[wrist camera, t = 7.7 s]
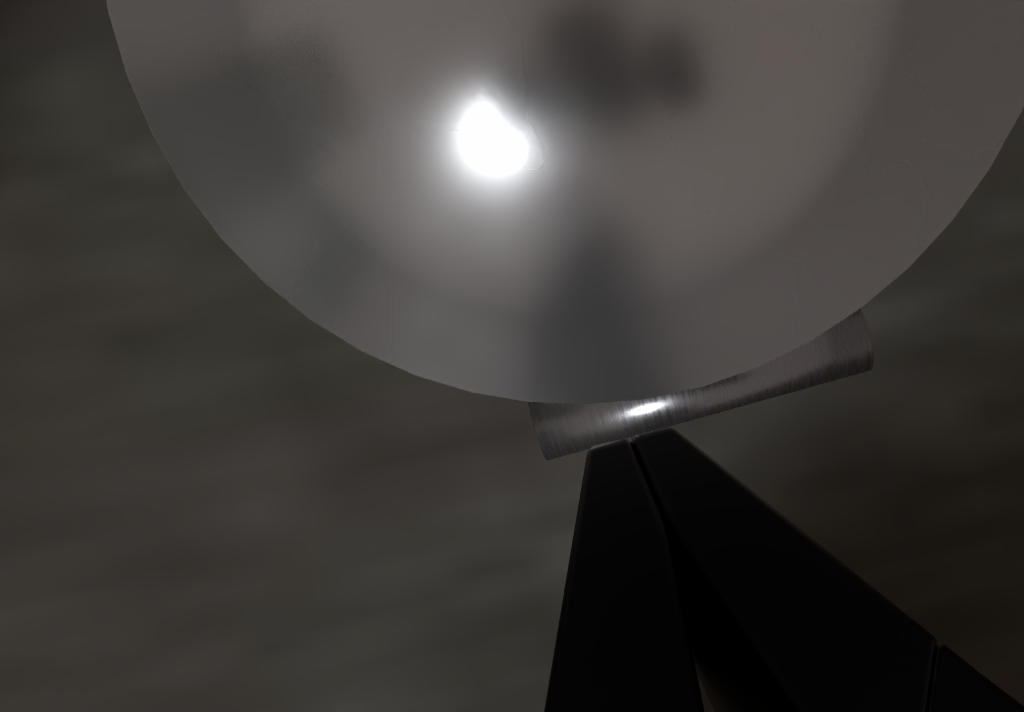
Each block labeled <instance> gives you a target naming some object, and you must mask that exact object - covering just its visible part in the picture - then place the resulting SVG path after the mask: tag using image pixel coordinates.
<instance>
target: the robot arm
mask: <svg viewBox="0 0 1024 712" xmlns="http://www.w3.org/2000/svg"><path fill="white" fill-rule="evenodd" d="M936 646H937V640H936V638H935V637H934V636H933V635H931V634H930V633H929V632H928V631H926V630H925V629H924V628H923V627H921V626H920V625H919V624H918V623H916V622H915V621H914V620H913V619H911V618H910V617H909V616H908V615H906V614H905V613H904V612H903V611H901V610H900V609H899V608H898V607H896V606H895V605H894V604H893V603H891V602H890V601H889V600H888V599H886V598H885V597H884V596H883V595H881V594H880V593H879V592H878V591H876V590H875V589H874V588H873V587H871V586H870V585H869V584H868V583H866V582H865V581H864V580H863V579H861V578H860V577H859V576H858V575H856V574H855V573H854V572H853V571H851V570H850V569H849V568H848V567H846V566H845V565H844V564H843V563H841V562H840V561H839V560H838V559H836V558H835V557H834V556H833V555H831V554H830V553H829V552H828V551H826V550H825V549H824V548H823V547H821V546H820V545H819V544H818V543H816V542H815V541H814V540H813V539H811V538H810V537H809V536H808V535H806V534H805V533H804V532H803V531H801V530H800V529H799V528H798V527H796V526H795V525H794V524H793V523H791V522H790V521H789V520H788V519H786V518H785V517H784V516H783V515H781V514H780V513H779V512H778V511H776V510H775V509H774V508H773V507H771V506H770V505H769V504H768V503H766V502H765V501H764V500H763V499H761V498H760V497H759V496H758V495H756V494H755V493H754V492H753V491H751V490H750V489H749V488H748V487H746V486H745V485H744V484H743V483H741V482H740V481H739V480H738V479H736V478H735V477H734V476H733V475H731V474H730V473H729V472H728V471H726V470H725V469H724V468H723V467H722V466H720V465H719V464H718V463H717V462H715V461H714V460H713V459H712V458H710V457H709V456H708V455H707V454H705V453H704V452H703V451H702V450H700V449H699V448H698V447H697V446H695V445H694V444H693V443H692V442H690V441H689V440H688V439H687V438H685V437H684V436H683V435H682V434H680V433H679V432H678V431H676V430H675V429H673V428H670V427H664V428H660V429H656V430H653V431H649V432H645V433H641V434H637V435H635V436H634V437H633V438H632V441H631V442H630V441H629V440H628V439H625V438H622V439H618V440H614V441H610V442H606V443H602V444H599V445H595V446H592V447H591V448H590V449H589V451H588V453H587V457H586V463H585V470H584V476H583V482H582V488H581V494H580V500H579V506H578V512H577V518H576V524H575V530H574V536H573V542H572V548H571V554H570V560H569V566H568V572H567V578H566V584H565V590H564V596H563V602H562V608H561V614H560V620H559V626H558V632H557V638H556V644H555V650H554V656H553V662H552V668H551V674H550V680H549V686H548V692H547V698H546V704H545V710H544V712H704V708H703V703H702V698H701V693H700V688H699V683H698V678H697V673H698V675H699V677H700V680H701V682H702V684H703V686H704V688H705V691H706V693H707V695H708V697H709V699H710V701H711V704H712V706H713V708H714V710H715V712H1024V706H1023V705H1021V704H1020V703H1019V702H1017V701H1016V700H1015V699H1013V698H1012V697H1011V696H1009V695H1008V694H1007V693H1005V692H1004V691H1003V690H1001V689H1000V688H999V687H998V686H996V685H995V684H994V683H992V682H991V681H990V680H988V679H987V678H986V677H984V676H983V675H982V674H980V673H979V672H978V671H977V670H975V669H974V668H973V667H972V666H970V665H969V664H968V663H967V662H966V661H964V660H963V659H962V658H961V657H959V656H958V655H957V654H956V653H954V652H953V651H952V650H951V649H949V648H948V647H947V646H946V645H944V644H940V645H938V646H937V648H936ZM696 670H697V673H696Z"/></svg>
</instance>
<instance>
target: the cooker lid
mask: <svg viewBox="0 0 1024 712" xmlns="http://www.w3.org/2000/svg"><path fill="white" fill-rule="evenodd" d="M106 1H107V7H108V13H109V16H110V20H111V23H112V27H113V30H114V33H115V37H116V40H117V44H118V47H119V51H120V54H121V57H122V61H123V64H124V68H125V71H126V75H127V77H128V79H129V82H130V84H131V86H132V89H133V91H134V93H135V96H136V98H137V100H138V103H139V105H140V107H141V110H142V112H143V114H144V117H145V119H146V121H147V124H148V126H149V128H150V131H151V133H152V135H153V137H154V139H155V140H156V142H157V144H158V145H159V147H160V149H161V151H162V152H163V154H164V156H165V158H166V159H167V161H168V163H169V164H170V166H171V168H172V170H173V171H174V173H175V175H176V176H177V178H178V180H179V182H180V183H181V185H182V187H183V189H184V190H185V191H186V193H187V194H188V195H189V197H190V198H191V199H192V201H193V202H194V203H195V204H196V206H197V207H198V208H199V210H200V211H201V212H202V214H203V215H204V216H205V218H206V219H207V220H208V222H209V223H210V224H211V226H212V227H213V228H214V230H215V231H216V232H217V234H218V235H219V236H220V238H221V239H222V240H223V241H224V242H225V243H226V244H227V245H228V246H229V247H230V248H231V249H232V250H233V251H234V252H235V253H236V254H237V255H238V256H239V257H240V258H241V259H242V260H243V261H244V262H245V263H246V264H247V265H248V267H249V268H250V269H251V270H252V271H253V272H254V273H255V274H256V275H257V276H258V277H259V278H260V279H261V280H262V281H263V282H264V283H265V284H267V285H268V286H269V287H270V288H272V289H273V290H274V291H275V292H277V293H278V294H279V295H280V296H282V297H283V298H284V299H285V300H287V301H288V302H289V303H290V304H292V305H293V306H294V307H295V308H297V309H298V310H299V311H300V312H302V313H303V314H304V315H305V316H307V317H308V318H309V319H310V320H312V321H313V322H315V323H317V324H318V325H320V326H322V327H323V328H325V329H326V330H328V331H330V332H331V333H333V334H335V335H336V336H338V337H340V338H341V339H343V340H344V341H346V342H348V343H349V344H351V345H353V346H354V347H356V348H358V349H359V350H361V351H363V352H365V353H367V354H369V355H372V356H374V357H376V358H378V359H381V360H383V361H385V362H387V363H389V364H392V365H394V366H396V367H398V368H400V369H403V370H405V371H407V372H409V373H412V374H414V375H417V376H420V377H423V378H426V379H430V380H433V381H436V382H439V383H443V384H446V385H449V386H453V387H456V388H459V389H462V390H466V391H469V392H473V393H479V394H485V395H491V396H497V397H503V398H509V399H514V400H520V401H526V402H528V404H529V408H530V412H531V416H532V420H533V423H534V427H535V430H536V433H537V437H538V440H539V443H540V446H541V449H542V452H543V454H544V457H545V459H546V461H547V460H551V459H554V458H558V457H562V456H565V455H569V454H572V453H576V452H579V451H583V450H587V449H590V448H591V447H592V446H595V445H599V444H602V443H606V442H610V441H614V440H618V439H622V438H625V439H626V438H630V437H633V436H635V435H637V434H641V433H645V432H649V431H653V430H656V429H660V428H664V427H669V426H673V425H676V424H680V423H684V422H687V421H691V420H694V419H698V418H702V417H705V416H709V415H712V414H716V413H720V412H723V411H727V410H730V409H734V408H737V407H741V406H745V405H748V404H752V403H755V402H759V401H763V400H766V399H770V398H773V397H777V396H781V395H784V394H788V393H791V392H795V391H799V390H802V389H806V388H809V387H813V386H816V385H820V384H824V383H827V382H831V381H834V380H838V379H842V378H845V377H849V376H852V375H856V374H860V373H863V372H867V371H870V370H871V369H872V367H873V360H874V357H873V347H872V342H871V337H870V334H869V330H868V327H867V324H866V321H865V319H864V316H863V314H862V312H861V310H860V308H862V307H863V306H864V305H865V304H867V303H868V302H869V301H870V300H871V299H872V298H874V297H875V296H876V295H877V294H878V293H879V292H881V291H882V290H883V289H884V288H885V287H887V286H888V285H889V284H890V283H891V282H892V281H894V280H895V279H896V278H897V277H898V276H899V275H901V274H902V273H903V272H904V271H905V270H906V269H908V268H909V267H910V266H911V265H912V264H913V263H914V262H915V260H916V259H917V258H918V257H919V256H920V255H921V254H922V253H923V252H924V251H925V250H926V249H927V247H928V246H929V245H930V244H931V243H932V242H933V241H934V240H935V239H936V238H937V237H938V235H939V234H940V233H941V232H942V231H943V230H944V229H945V228H946V227H947V226H948V225H949V224H950V222H951V221H952V220H953V219H954V218H955V216H956V215H957V213H958V212H959V211H960V209H961V208H962V206H963V205H964V204H965V202H966V201H967V199H968V198H969V197H970V195H971V194H972V193H973V191H974V190H975V188H976V187H977V186H978V184H979V183H980V181H981V180H982V179H983V177H984V176H985V174H986V173H987V172H988V170H989V169H990V167H991V166H992V164H993V162H994V160H995V158H996V157H997V155H998V153H999V151H1000V149H1001V147H1002V146H1003V144H1004V142H1005V140H1006V138H1007V137H1008V135H1009V133H1010V131H1011V129H1012V128H1013V126H1014V124H1015V122H1016V120H1017V118H1018V117H1019V115H1020V113H1021V111H1022V109H1023V107H1024V0H106Z"/></svg>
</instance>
